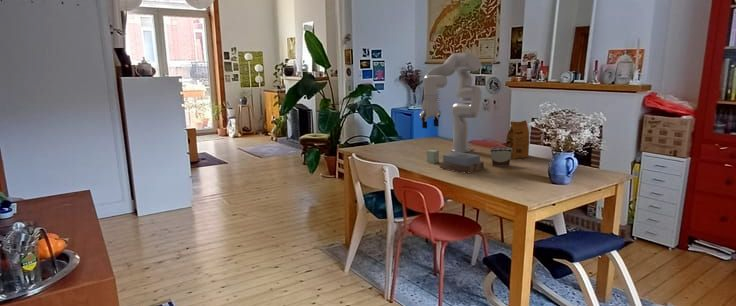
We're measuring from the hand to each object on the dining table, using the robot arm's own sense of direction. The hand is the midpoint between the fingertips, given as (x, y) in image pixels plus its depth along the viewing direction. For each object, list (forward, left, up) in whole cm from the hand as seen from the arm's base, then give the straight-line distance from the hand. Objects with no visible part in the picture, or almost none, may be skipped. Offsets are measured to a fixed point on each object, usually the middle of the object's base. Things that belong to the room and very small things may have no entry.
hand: (430, 127), depth 277 cm
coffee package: (-43, +32, -21) cm, 58 cm away
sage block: (-1, +1, -21) cm, 21 cm away
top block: (+1, +23, -18) cm, 29 cm away
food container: (-19, +35, -21) cm, 45 cm away
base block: (+1, +23, -22) cm, 31 cm away
